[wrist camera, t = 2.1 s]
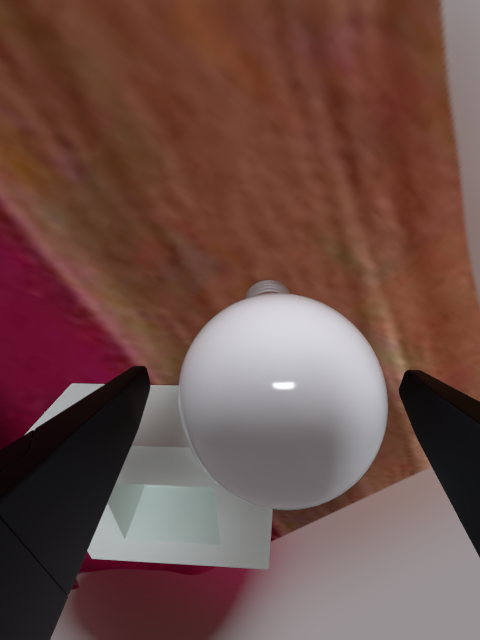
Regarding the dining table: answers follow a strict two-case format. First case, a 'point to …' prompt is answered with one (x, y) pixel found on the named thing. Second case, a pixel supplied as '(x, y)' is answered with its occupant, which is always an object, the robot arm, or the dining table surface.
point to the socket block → (171, 498)
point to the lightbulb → (282, 400)
